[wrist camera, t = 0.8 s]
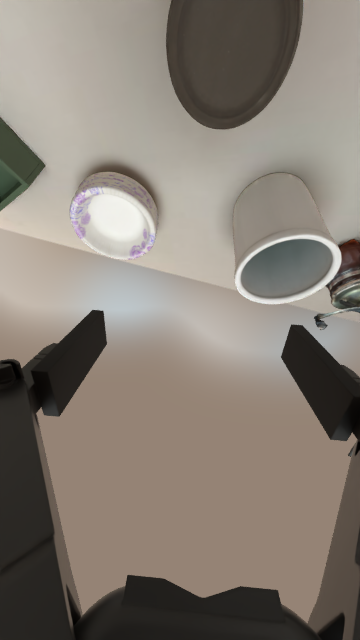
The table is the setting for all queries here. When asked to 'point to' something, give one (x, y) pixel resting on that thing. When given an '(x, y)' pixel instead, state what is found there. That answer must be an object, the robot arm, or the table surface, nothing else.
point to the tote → (15, 165)
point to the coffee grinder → (345, 283)
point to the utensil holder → (281, 242)
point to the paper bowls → (114, 215)
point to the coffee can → (230, 55)
